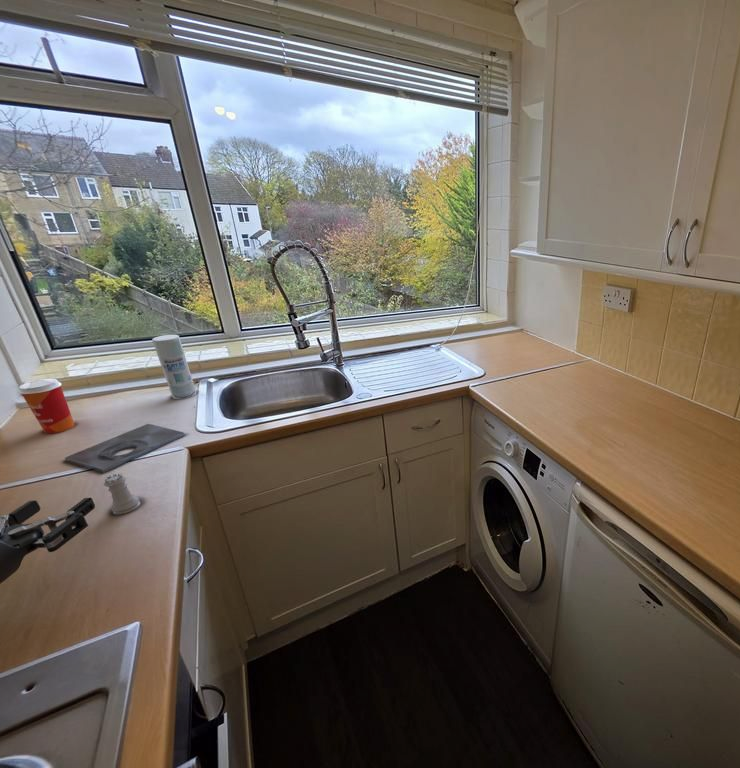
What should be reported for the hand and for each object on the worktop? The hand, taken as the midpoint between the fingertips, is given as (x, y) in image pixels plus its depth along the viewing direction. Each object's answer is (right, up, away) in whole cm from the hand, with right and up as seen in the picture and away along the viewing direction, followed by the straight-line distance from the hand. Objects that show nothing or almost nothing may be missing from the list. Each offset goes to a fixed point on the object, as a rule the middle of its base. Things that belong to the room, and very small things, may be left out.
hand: (63, 503), depth 70 cm
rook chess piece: (-1, -5, +13) cm, 14 cm away
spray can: (-30, +16, +62) cm, 71 cm away
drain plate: (-20, +4, +33) cm, 39 cm away
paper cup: (-47, +8, +41) cm, 63 cm away
